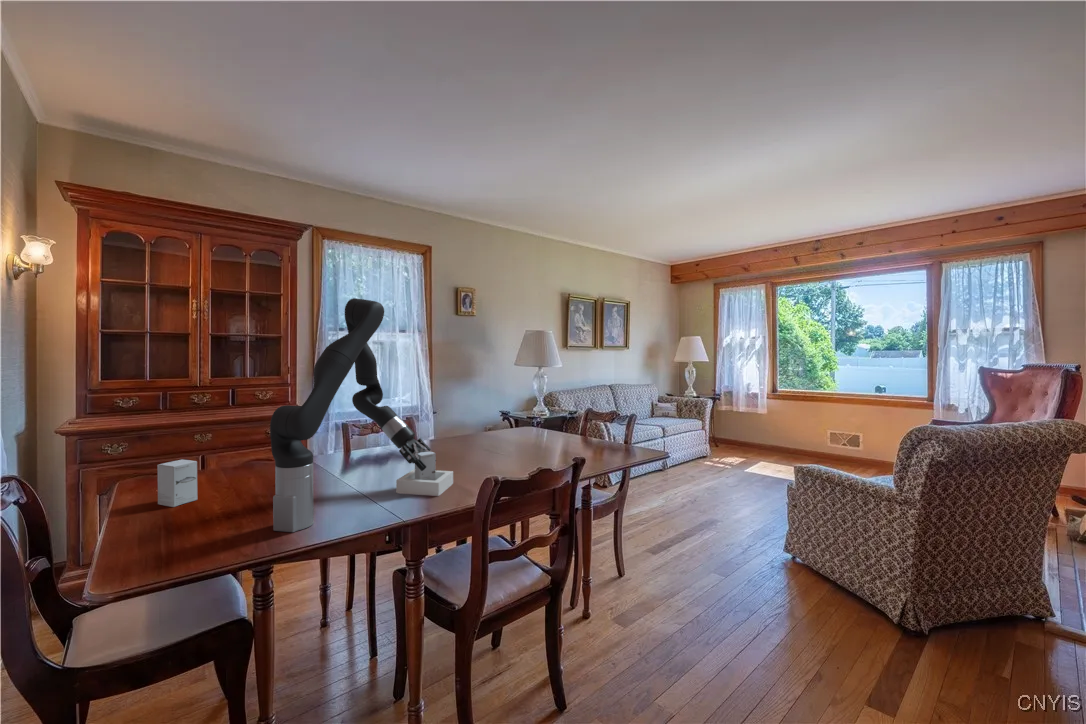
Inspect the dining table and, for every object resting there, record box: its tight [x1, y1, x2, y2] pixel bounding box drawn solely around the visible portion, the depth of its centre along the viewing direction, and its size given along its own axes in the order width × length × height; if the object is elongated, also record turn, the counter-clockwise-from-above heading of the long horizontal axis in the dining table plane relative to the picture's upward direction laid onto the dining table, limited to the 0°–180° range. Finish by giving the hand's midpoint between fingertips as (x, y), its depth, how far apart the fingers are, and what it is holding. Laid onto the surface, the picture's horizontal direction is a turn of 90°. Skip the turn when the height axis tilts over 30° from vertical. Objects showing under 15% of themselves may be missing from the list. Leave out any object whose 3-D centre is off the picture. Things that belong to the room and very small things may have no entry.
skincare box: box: [414, 450, 437, 481], centre depth 163 cm, size 6×4×12 cm
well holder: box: [395, 468, 454, 497], centre depth 163 cm, size 14×15×4 cm
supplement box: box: [157, 459, 198, 508], centre depth 146 cm, size 7×7×13 cm
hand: (429, 465), depth 162 cm, fingers open, 8 cm apart
